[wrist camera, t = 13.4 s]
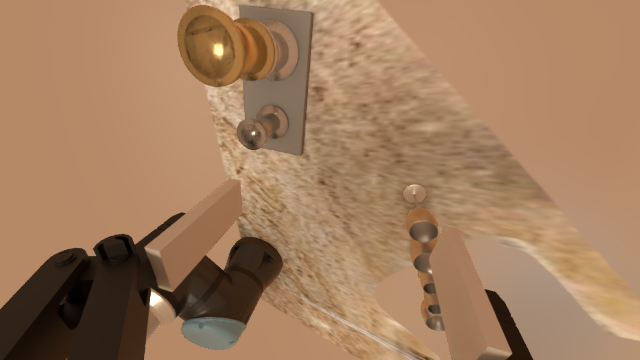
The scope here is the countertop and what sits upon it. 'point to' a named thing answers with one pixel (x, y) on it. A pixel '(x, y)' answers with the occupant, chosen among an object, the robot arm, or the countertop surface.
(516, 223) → the countertop surface
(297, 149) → the plate
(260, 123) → the narrow pipe stub
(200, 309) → the robot arm
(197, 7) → the gold flared knob
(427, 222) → the goblet set
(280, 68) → the wide pipe stub
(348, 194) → the countertop surface
